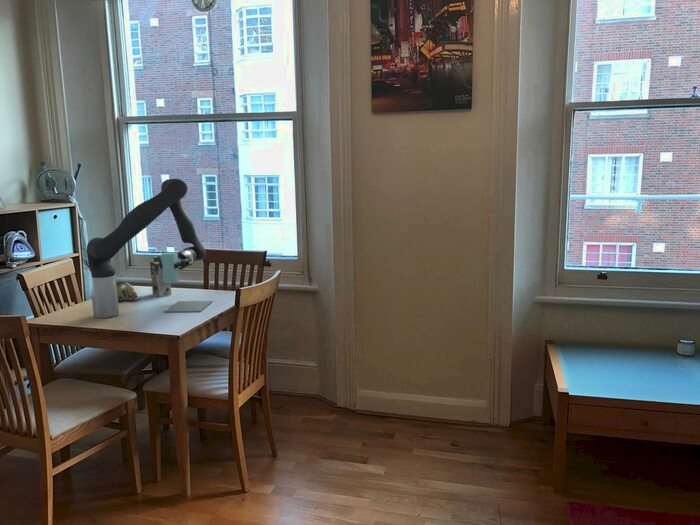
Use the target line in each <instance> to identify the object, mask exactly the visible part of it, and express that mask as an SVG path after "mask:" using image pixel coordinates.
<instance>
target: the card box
mask: <svg viewBox="0 0 700 525" xmlns="http://www.w3.org/2000/svg"><path fill="white" fill-rule="evenodd" d="M178 252H179V251H177V252H164V253H162V254H161V260H162V267H163V282H164V283H171V284H175V283H177V282H180V280H181V279H180V269H179V267H178V268H177V269H174V263H176V262H178Z"/></svg>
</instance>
